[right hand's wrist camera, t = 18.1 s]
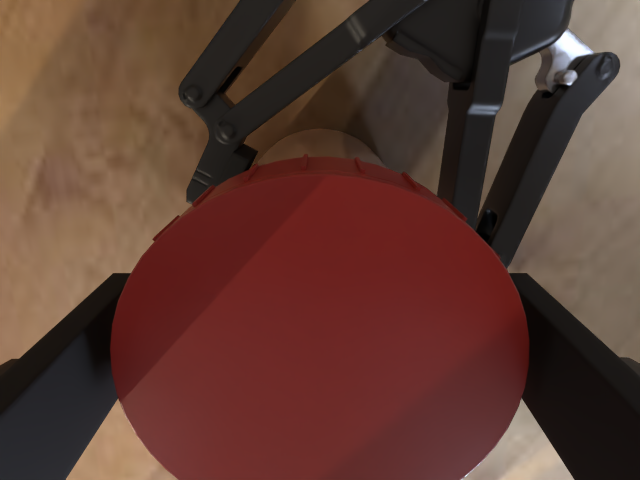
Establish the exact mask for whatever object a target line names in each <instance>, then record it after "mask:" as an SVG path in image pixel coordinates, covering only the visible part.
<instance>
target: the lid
mask: <svg viewBox="0 0 640 480" xmlns="http://www.w3.org/2000/svg"><path fill="white" fill-rule="evenodd" d="M466 220H467V218H466V217H465V216H464V215H463V214H462V213H461V212H459V211H458V210H457V209H456V208H455V207H454V206H453V205H452V204H451V203H449V202H448V201H447V200H446V199H445V198H443V199H442V200H441V199H440V198H438V197H437V196H436V195H435V194H433V193H432V192H431V191H429V190H428V189H427V188H425V187H424V186H422V185H420V184H419V183H417V182H415V181H414V180H413V179H412V178H411V177H410V176H409V175H408V174H407V173H405V172H403V173H402V174H400V173H397V172H395V171H392V170H390V169H387V168H385V167H382V166H380V165H376V164H372V163H367V162H363V161H361V160H360V158H359V157H355V159H347V158H338V157H329V156H325V157H308V154H304V156H303V157H299V158H293V159H287V160H280V161H275V162H272V163H268V164H265V165H262V166H259V165H258V163H257V164H254V165H253V167H252V168H251V169H249V170H247V171H245V172H243V173H241V174H238V175H236V176H234V177H232V178H229V179H228V180H226V181H225V182H223V183H221V184H220V185H218V186H217V187H215V186H214V185H212V186H210V187H209V188H208V189H207V190H206V191H205V192H204V193H203V194H202V195H201V196H200V197H198V198H197V199H196V200H195V201H194V202H193V203H192V206H191V207H190V208H189V209H188V210H187V211H185V212H184V213H183V214H182V215H181V216H179V215H178V216H177V217H176V218H174V219H173V220H172V221H171V222H170V223H169V224H168V225H167V226H166V227H165V228H164V229H162V230H161V231H160V232H159V233H158V234H157V235H156V236H155V237H154V238H153V239H152V240H154V241H155V242H154V243H153V244H152V245H151V246H150V247H149V249H148V250H147V251H146V252H145V253H144V254H143V255H142V257H141V258H140V260H139V262H138V263H137V265H136V266H135V268H134V269H133V271H132V273H131V274H130V276H129V277H128V279H127V282H126V284H125V286H124V289H123V291H122V293H121V296H120V298H119V300H118V303H117V307H116V311H115V315H114V319H113V323H112V332H111V344H110V355H111V369H112V376H113V380H114V384H115V388H116V393H117V396H118V399H119V401H120V404H121V406H122V409H123V411H124V414H125V416H126V418H127V420H128V421H129V423H130V425H131V427H132V428H133V430H134V432H135V434H136V435H137V437H138V438H139V439H140V441H141V442H142V443H143V445H144V446H145V447H146V449H147V450H148V451H149V453H150V454H151V455H152V456H153V457H154V458H155V459H156V460H157V461H158V462H159V463H160V464H161V465H162V466H163V467H164V468H165V469H166V470H167V471H168V472H170V473H171V474H172V475H173V476H175V477H176V478H177V479H178V480H462V479H463V478H464V477H465V476H467V475H468V474H469V473H470V472H471V471H472V470H473V469H474V468H476V467H477V466H478V465H479V464H480V463H481V462H482V461H483V460H484V459H485V458H486V456H487V455H488V454H489V453H490V452H491V451H492V450H493V449H494V447H495V446H496V445H497V443H498V442H499V440H500V439H501V437H502V436H503V435H504V433H505V432H506V430H507V429H508V427H509V425H510V423H511V421H512V419H513V417H514V415H515V413H516V411H517V409H518V406H519V403H520V400H521V397H522V394H523V391H524V388H525V384H526V379H527V373H528V367H529V334H528V327H527V320H526V315H525V312H524V309H523V305H522V302H521V299H520V296H519V293H518V291H517V289H516V287H515V285H514V283H513V281H512V279H511V277H510V275H509V273H508V271H507V269H506V268H505V266H504V265H503V263H502V262H501V261H500V256H499V255H498V254H497V253H496V252H495V251H494V250H493V249H492V248H491V247H490V246H489V245H488V244H487V243H486V242H485V241H484V240H483V239H482V238H481V237H480V236H479V235H478V234H477V233H476V232H475V231H474V230H473V229H472V228H471V227H470V226H469V225H468V224H467V223H466V222H465V221H466Z"/></svg>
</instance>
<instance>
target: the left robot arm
mask: <svg viewBox="0 0 640 480" xmlns="http://www.w3.org/2000/svg"><path fill="white" fill-rule="evenodd" d="M295 1H296V0H240V1H239V3H238V4H237V6H236V7H235V8H234V10H233V11H232V13H231V14H230V15H229V17H228V18H227V19H226V21H225V22H224V24H223V25H222V26H221V28H220V29H219V31H218V32H217V33H216V35H215V36H214V38H213V39H212V40H211V42H210V43H209V45H208V46H207V47H206V49H205V50H204V51H203V53H202V54H201V56H200V57H199V58H198V60H197V61H196V63H195V64H194V65H193V67H192V68H191V70H190V71H189V72H188V74H187V75H186V77H185V78H184V79H183V81H182V82H181V84H180V86H179V97H180V100H181V101H182V102H183V104H184V105H185V106H187V107H189V108H192V109H193V110H194V111H195V112H196V113H197V114H198V116H199V117H200V118H201V119H202V120H203V121H204V122H205V124H206V125H207V127H208V130H209V141H208V144H207V146H206V148H205V150H204V153H203V155H202V157H201V159H200V161H199V164H198V166H197V168H196V171H195V173H194V175H193V177H192V179H191V181H190V184H189V186H188V188H187V202H188V203H190V204H192V203H193V202H194V201H195V200H196V199H197V198H198V197H200V196H201V195H202V194H203V193H204V192H205V191H206V190H207V189H208V188H209V187H210V186H212V185H214V186H215V187H217V186H218V185H220V184H221V183H223V182H225V181H226V180H228V179H229V178H232V177H234V176H236V175H238V174H241V173H243V172H245V171H247V170H249V169H250V167H251V165H252V163H253V161H254V159H255V157H256V155H257V153H258V151H256V150H255V149H253V148H251V147H249V146H247V145H245V144H243V143H244V141H245V139H246V137H247V136H248V135H249V134H250V133H252V132H253V131H254V130H256V129H257V128H258V127H260V126H261V125H262V124H264V123H265V122H266V121H268V120H269V119H270V118H272V117H273V116H274V115H276V114H277V113H278V112H280V111H281V110H282V109H284V108H285V107H286V106H288V105H289V104H290V103H292V102H293V101H294V100H296V99H297V98H299V97H300V96H301V95H303V94H304V93H305V92H307V91H308V90H309V89H311V88H312V87H313V86H315V85H316V84H317V83H319V82H320V81H321V80H323V79H324V78H325V77H327V76H328V75H329V74H331V73H332V72H333V71H335V70H336V69H337V68H339V67H340V66H341V65H343V64H344V63H345V62H347V61H348V60H349V59H351V58H352V57H353V56H355V55H356V54H357V53H359V52H360V51H362V50H363V49H364V48H366V47H367V46H368V45H370V44H371V43H372V42H374V41H375V40H376V39H378V38H379V37H380V36H382V37H383V39H384V40H385V41H386V42H387V43H386V46H387V47H389V48H391V49H392V50H394V51H395V52H397V53H399V54H400V55H404V56H408V57H411V58H415V59H418V60H419V61H420V62H421V63H422V64H423V65H424V66H425V68H426V69H427V70H428V71H429V72H430V73H431V74H433V75H434V76H436V77H437V78H439V79H441V80H442V81H444V82H450V84H449V91H448V100H447V101H448V108H449V114H448V121H447V128H446V135H445V143H444V150H443V157H442V164H441V171H440V178H439V185H438V192H437V197H438V198H440V199H441V200H442V199H443V198H445V199H446V200H447V201H448V202H449V203H451V204H452V205H453V206H454V207H455V208H456V209H457V210H458V211H459V212H461V213H462V214H463V215H464V216H465V217H466V218H467V220H466V221H465V222H466V223H467V224H468V225H469V226H470V227H471V228H472V229H473V230H474V231H475V232H476V233H477V234H478V235H479V236H480V237H481V238H482V239H483V240H484V241H485V242H486V243H487V244H488V245H489V246H490V247H491V248H492V249H493V250H494V251H495V252H496V253H497V254H498V255H499V256H500V261H501V262H502V263H503V265H504V266H505V268H507V267H508V266H509V264H510V263H511V261H512V259H513V257H514V255H515V252H516V250H517V248H518V246H519V244H520V242H521V240H522V238H523V236H524V234H525V232H526V230H527V228H528V225H529V223H530V221H531V219H532V217H533V215H534V213H535V211H536V209H537V207H538V205H539V203H540V201H541V199H542V196H543V194H544V192H545V190H546V188H547V186H548V184H549V182H550V180H551V178H552V176H553V174H554V172H555V170H556V167H557V165H558V163H559V161H560V159H561V157H562V155H563V153H564V151H565V149H566V147H567V145H568V143H569V141H570V138H571V136H572V134H573V132H574V130H575V128H576V126H577V124H578V122H579V120H580V118H581V116H582V114H583V113H584V112H585V110H586V109H587V108H588V107H589V106H590V105H591V104H592V103H593V102H594V101H595V99H596V98H597V97H598V96H599V95H600V94H601V93H602V92H603V91H604V90H605V88H606V87H607V86H608V85H609V84H610V83H611V82H612V81H613V80H614V78H615V77H616V75H617V74H618V72H619V68H620V61H619V59H618V57H617V55H615V54H613V53H612V52H602V53H594V52H593V51H592V50H591V49H590V48H588V47H587V46H586V45H585V44H584V43H583V42H582V41H581V40H580V39H579V38H578V37H577V36H576V35H575V34H574V33H573V32H572V31H571V30H570V29H569V28H567V27H568V24H569V21H570V18H571V11H572V6H573V2H574V0H369V1H368V2H367V3H366V4H364V5H363V6H362V7H360V8H359V9H358V10H357V11H355V12H354V13H353V14H352V15H351V16H349V17H348V18H347V19H346V20H345V21H344V22H343V23H341V24H340V25H339V26H338V27H336V28H335V29H334V30H332V31H331V32H330V33H328V34H327V35H326V36H325V37H323V38H322V39H321V40H319V41H318V42H317V43H315V44H314V45H313V46H312V47H310V48H309V49H308V50H306V51H305V52H304V53H302V54H301V55H300V56H299V57H297V58H296V59H295V60H293V61H292V62H291V63H289V64H288V65H287V66H286V67H284V68H283V69H282V70H280V71H279V72H278V73H276V74H275V75H274V76H273V77H271V78H270V79H269V80H267V81H266V82H265V83H263V84H262V85H261V86H260V87H258V88H257V89H256V90H254V91H253V92H252V93H250V94H249V95H248V96H247V97H245V98H244V99H243V100H241V101H240V102H239V103H237V104H236V105H235V104H234V103H233V102H232V101H231V100H230V99H229V98H228V97H227V95H226V94H225V93H226V92H227V91H228V89H229V88H230V87H231V85H232V84H233V83H234V82H235V80H236V79H237V78H238V76H239V75H240V74H241V72H242V71H243V70H244V68H245V67H246V66H247V64H248V63H249V62H250V60H251V59H252V58H253V56H254V55H255V54H256V53H257V51H258V50H259V49H260V47H261V46H262V45H263V43H264V42H265V41H266V39H267V38H268V37H269V35H270V34H271V33H272V31H273V30H274V29H275V27H276V26H277V25H278V24H279V22H280V21H281V20H282V18H283V17H284V16H285V14H286V13H287V12H288V10H289V9H290V8H291V6H292V5H293V4H294V2H295ZM537 52H539V53H540V55H541V57H542V64H541V67H540V69H539V71H538V73H537V75H536V77H535V83H536V86H537V88H538V90H537V91H536V92H535V94H534V95H533V97H532V98H531V100H530V102H529V103H528V105H527V107H526V109H525V111H524V113H523V115H522V117H521V120H520V122H519V124H518V127H517V129H516V131H515V134H514V136H513V138H512V140H511V143H510V145H509V147H508V150H507V152H506V154H505V156H504V159H503V161H502V163H501V166H500V168H499V170H498V172H497V175H496V177H495V179H494V182H493V184H492V186H491V189H490V191H489V193H488V195H487V198H486V200H485V202H484V205H483V207H482V209H481V211H480V214H479V216H478V211H479V205H480V200H481V194H482V189H483V183H484V177H485V172H486V166H487V160H488V155H489V149H490V143H491V138H492V132H493V126H494V121H495V116H496V114H497V112H498V111H499V110H500V108H501V106H502V103H503V99H504V94H505V88H506V83H507V77H508V72H509V66H510V65H512V64H514V63H517V62H519V61H521V60H523V59H525V58H527V57H529V56H531V55H533V54H535V53H537ZM477 217H478V218H477Z"/></svg>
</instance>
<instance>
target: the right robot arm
mask: <svg viewBox="0 0 640 480" xmlns="http://www.w3.org/2000/svg"><path fill="white" fill-rule="evenodd" d="M130 274H131V273H113V274H112V275H111V276H110V277H109V278H108V279H106V280H105V281H104V282H103V283H102V284H101V285H100V286H99V287H98V288H97V289H95V290H94V291H93V292H92V293H91V294H90V295H89V296H88V297H87V298H86V299H84V300H83V301H82V302H81V303H80V304H79V305H78V306H77V307H76V308H75V309H73V310H72V311H71V312H70V313H69V314H68V315H67V316H66V317H65V318H64V319H63V320H61V321H60V322H59V323H58V324H57V325H56V326H55V327H54V328H53V329H52V330H50V331H49V332H48V333H47V334H46V335H45V336H44V337H43V338H42V339H41V340H39V341H38V342H37V343H36V344H35V345H34V346H33V347H32V348H31V349H30V350H28V351H27V352H26V353H25V354H24V355H23V356H22V357H21V358H20V359H11V360H9V361H7V362H5V363H4V364H2V365H0V480H66V478H67V476H68V475H69V473H70V472H71V470H72V469H73V467H74V466H75V464H76V463H77V461H78V459H79V458H80V456H81V455H82V453H83V452H84V450H85V449H86V447H87V446H88V444H89V442H90V441H91V439H92V438H93V436H94V435H95V433H96V432H97V430H98V428H99V427H100V425H101V424H102V422H103V421H104V419H105V418H106V416H107V415H108V413H109V411H110V410H111V408H112V407H113V405H114V404H115V402H116V401H117V399H118V396H117V393H116V388H115V384H114V380H113V376H112V369H111V355H110V344H111V332H112V323H113V319H114V315H115V311H116V307H117V303H118V300H119V298H120V296H121V293H122V291H123V289H124V286H125V284H126V282H127V279H128V277H129V276H130ZM509 275H510V277H511V279H512V281H513V283H514V285H515V287H516V289H517V291H518V293H519V296H520V299H521V302H522V305H523V309H524V312H525V315H526V320H527V327H528V334H529V367H528V373H527V379H526V384H525V388H524V391H523V394H522V399H523V401H524V402H525V404H526V405H527V407H528V408H529V410H530V411H531V413H532V415H533V416H534V418H535V419H536V421H537V422H538V424H539V425H540V427H541V428H542V430H543V432H544V433H545V435H546V436H547V438H548V439H549V441H550V442H551V444H552V446H553V447H554V449H555V450H556V452H557V453H558V455H559V456H560V458H561V459H562V461H563V463H564V464H565V466H566V467H567V469H568V470H569V472H570V473H571V475H572V476H573V478H574V480H640V364H639V363H638V362H636V361H634V360H632V359H630V358H619V357H618V356H617V355H616V354H615V353H614V352H613V351H612V350H610V349H609V348H608V347H607V346H606V345H605V344H604V343H603V342H602V341H601V340H599V339H598V338H597V337H596V336H595V335H594V334H593V333H592V332H591V331H590V330H588V329H587V328H586V327H585V326H584V325H583V324H582V323H581V322H580V321H579V320H578V319H576V318H575V317H574V316H573V315H572V314H571V313H570V312H569V311H568V310H567V309H565V308H564V307H563V306H562V305H561V304H560V303H559V302H558V301H557V300H556V299H554V298H553V297H552V296H551V295H550V294H549V293H548V292H547V291H546V290H545V289H543V288H542V287H541V286H540V285H539V284H538V283H537V282H536V281H535V280H534V279H532V278H531V277H530V276H529V275H528V274H527V273H509Z"/></svg>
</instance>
